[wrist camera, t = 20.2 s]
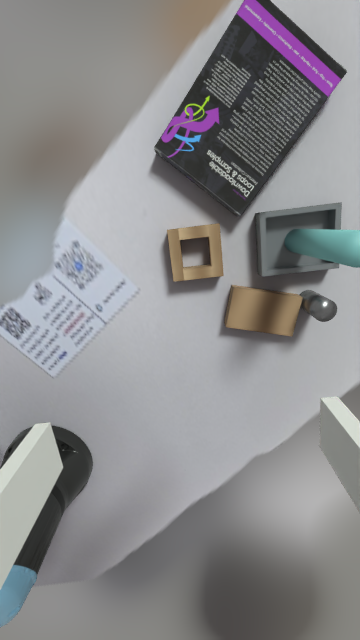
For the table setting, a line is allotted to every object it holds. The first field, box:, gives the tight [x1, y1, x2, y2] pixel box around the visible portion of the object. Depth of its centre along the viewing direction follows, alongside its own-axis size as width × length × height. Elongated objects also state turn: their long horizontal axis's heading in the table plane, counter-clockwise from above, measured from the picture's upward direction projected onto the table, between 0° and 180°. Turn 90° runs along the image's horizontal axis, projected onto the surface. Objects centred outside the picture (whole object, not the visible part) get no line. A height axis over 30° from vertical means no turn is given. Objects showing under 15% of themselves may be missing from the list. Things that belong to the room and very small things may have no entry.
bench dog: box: [300, 290, 337, 322], centre depth 42 cm, size 3×3×6 cm
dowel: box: [285, 229, 360, 267], centre depth 34 cm, size 3×3×16 cm
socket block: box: [167, 223, 223, 282], centre depth 42 cm, size 7×7×2 cm
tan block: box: [224, 285, 303, 336], centre depth 44 cm, size 10×6×2 cm, turn 82°
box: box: [154, 0, 347, 216], centre depth 37 cm, size 14×4×20 cm
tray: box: [256, 202, 342, 277], centre depth 41 cm, size 10×8×3 cm
